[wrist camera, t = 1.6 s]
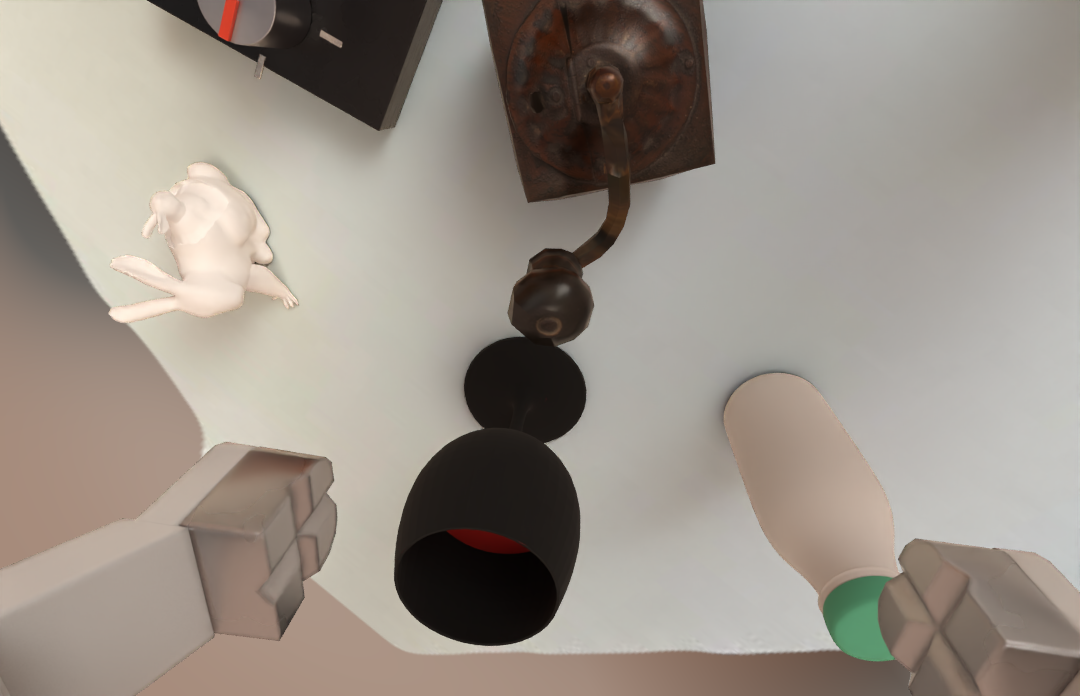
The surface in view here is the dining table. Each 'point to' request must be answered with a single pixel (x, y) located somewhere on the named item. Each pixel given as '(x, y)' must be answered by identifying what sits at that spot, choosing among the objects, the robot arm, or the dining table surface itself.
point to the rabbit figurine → (204, 250)
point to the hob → (344, 52)
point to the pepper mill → (595, 124)
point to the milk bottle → (816, 503)
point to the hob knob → (259, 21)
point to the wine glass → (497, 504)
